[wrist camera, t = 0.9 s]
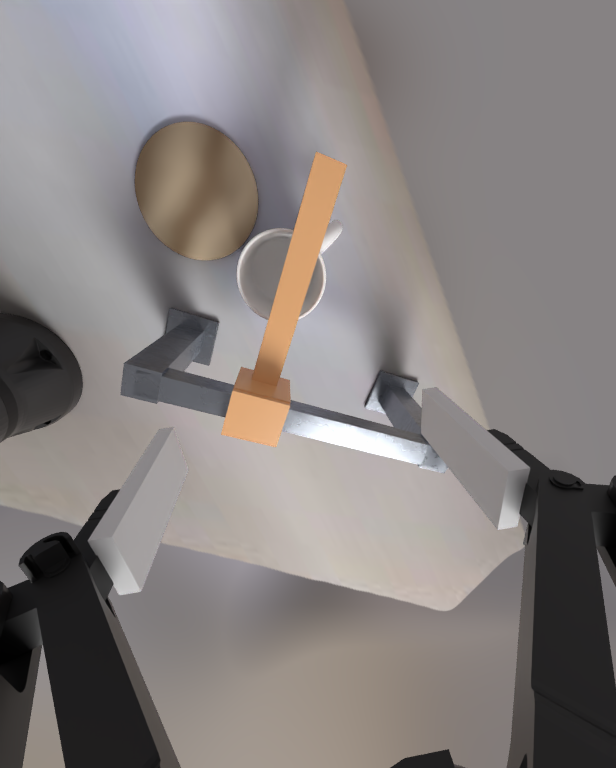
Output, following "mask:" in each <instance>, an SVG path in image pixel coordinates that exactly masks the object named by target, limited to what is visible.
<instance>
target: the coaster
mask: <svg viewBox="0 0 616 768" xmlns="http://www.w3.org/2000/svg"><path fill="white" fill-rule="evenodd" d="M135 191H136V197H137V201H138V205H139V208H140V211H141V213H142V215H143V217H144V219H145V221H146V223H147V225H148V226H149V228H150V229H151V230H152V232H153V233H154V234H155V235H156V237H157V238H158V239H159V240H160V241H161V242H162V243H164V244H165V245H166V246H167V247H169V248H170V249H171V250H173V251H175V252H176V253H178V254H180V255H183V256H185V257H188V258H191V259H196V260H215V259H220V258H223V257H226V256H228V255H230V254H232V253H233V252H235V251H236V250H237V249H239V248H240V247H241V246H242V245H243V244H244V242H245V241H246V240H247V239H248V237H249V235H250V234H251V232H252V230H253V227H254V225H255V221H256V218H257V212H258V192H257V186H256V182H255V178H254V175H253V173H252V170H251V168H250V165H249V164H248V162H247V160H246V158H245V156H244V155H243V154H242V152H241V151H240V149H239V148H238V147H237V146H236V145H235V144H234V143H233V142H232V141H231V140H230V139H229V138H228V137H227V136H225V135H224V134H223V133H221V132H220V131H218V130H216V129H214V128H212V127H210V126H207V125H204V124H201V123H196V122H179V123H174V124H171V125H168V126H166V127H164V128H162V129H160V130H159V131H158V132H156V133H155V134H154V135H153V136H152V137H151V138H150V139H149V140H148V141H147V143H146V144H145V146H144V147H143V149H142V151H141V153H140V155H139V158H138V161H137V165H136V171H135Z"/></svg>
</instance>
